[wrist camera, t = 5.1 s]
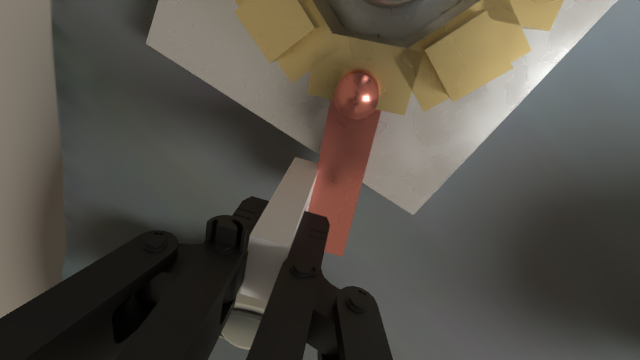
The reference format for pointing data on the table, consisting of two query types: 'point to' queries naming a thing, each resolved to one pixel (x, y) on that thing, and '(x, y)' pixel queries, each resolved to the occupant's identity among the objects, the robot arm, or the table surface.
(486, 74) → the yellow valve with lever
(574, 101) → the table surface
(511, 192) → the table surface
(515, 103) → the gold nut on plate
